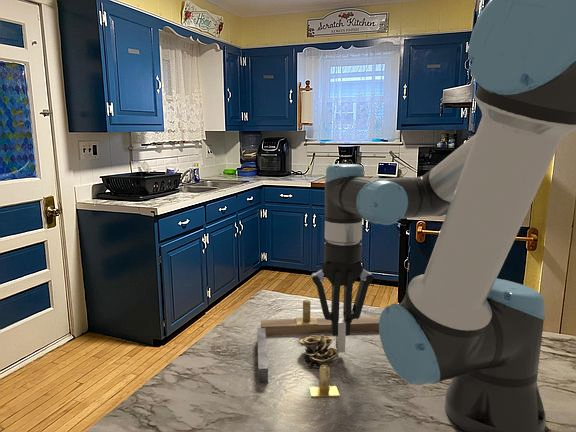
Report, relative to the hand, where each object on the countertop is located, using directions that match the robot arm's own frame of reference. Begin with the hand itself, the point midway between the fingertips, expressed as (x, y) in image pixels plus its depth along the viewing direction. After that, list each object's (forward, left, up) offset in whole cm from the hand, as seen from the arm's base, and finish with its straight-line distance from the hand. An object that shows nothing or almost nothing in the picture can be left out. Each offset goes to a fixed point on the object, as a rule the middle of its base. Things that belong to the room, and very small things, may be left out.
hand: (340, 349), depth 94 cm
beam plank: (+14, +2, -2) cm, 14 cm away
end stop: (0, +17, -2) cm, 17 cm away
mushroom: (0, +4, -2) cm, 5 cm away
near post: (-13, +6, -2) cm, 14 cm away
